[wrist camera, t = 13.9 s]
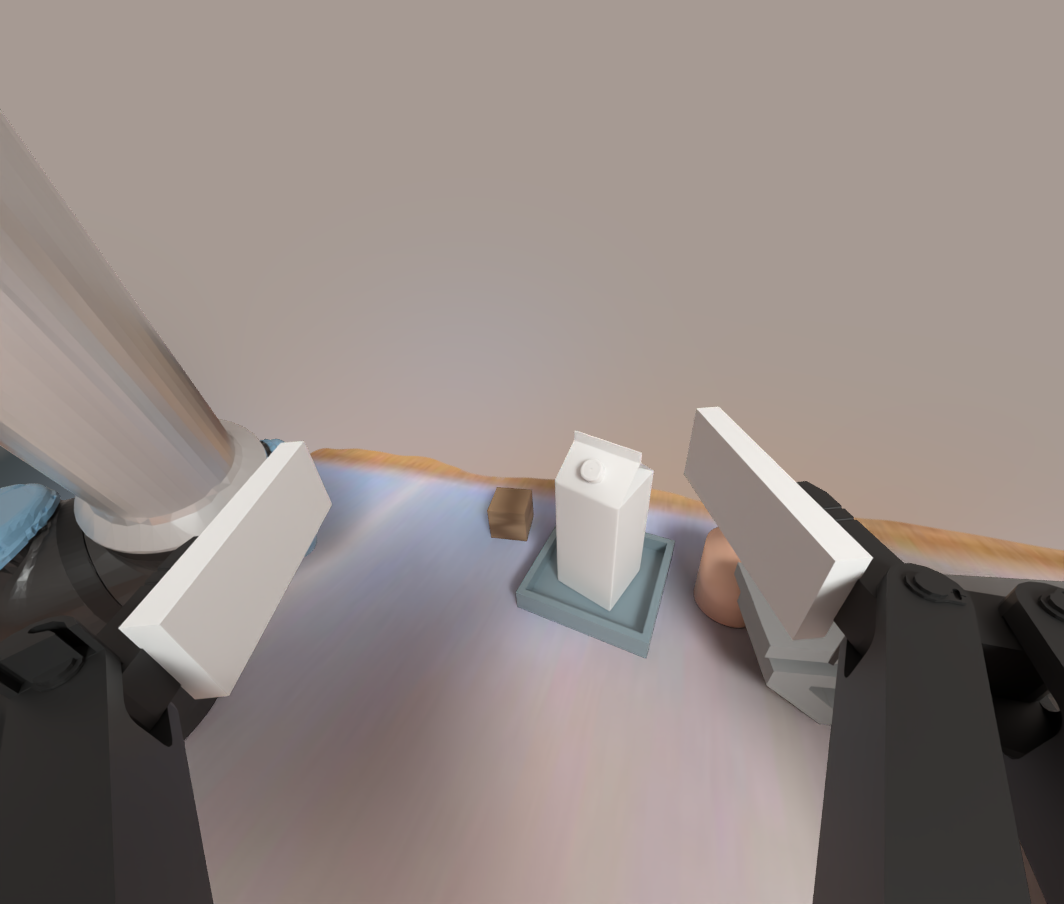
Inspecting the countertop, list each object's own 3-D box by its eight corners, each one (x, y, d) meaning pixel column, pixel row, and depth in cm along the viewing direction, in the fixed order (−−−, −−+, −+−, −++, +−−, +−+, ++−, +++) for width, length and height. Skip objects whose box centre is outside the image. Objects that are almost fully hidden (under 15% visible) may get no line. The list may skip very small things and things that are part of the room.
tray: (517, 606, 45) (515, 592, 44) (565, 524, 56) (565, 510, 55) (646, 658, 40) (648, 643, 38) (672, 555, 50) (675, 540, 49)
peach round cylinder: (684, 606, 44) (696, 555, 40) (704, 566, 49) (716, 516, 44) (753, 639, 40) (774, 587, 36) (767, 592, 45) (787, 541, 41)
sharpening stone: (736, 715, 35) (770, 645, 29) (713, 632, 41) (737, 562, 36) (1067, 751, 32) (1183, 681, 26) (987, 655, 38) (1064, 581, 32)
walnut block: (491, 537, 55) (487, 510, 52) (500, 513, 59) (497, 487, 56) (526, 541, 54) (524, 514, 51) (533, 516, 58) (531, 489, 55)
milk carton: (589, 544, 51) (594, 416, 41) (639, 571, 48) (659, 436, 37) (557, 580, 47) (553, 446, 37) (609, 613, 43) (622, 473, 33)
